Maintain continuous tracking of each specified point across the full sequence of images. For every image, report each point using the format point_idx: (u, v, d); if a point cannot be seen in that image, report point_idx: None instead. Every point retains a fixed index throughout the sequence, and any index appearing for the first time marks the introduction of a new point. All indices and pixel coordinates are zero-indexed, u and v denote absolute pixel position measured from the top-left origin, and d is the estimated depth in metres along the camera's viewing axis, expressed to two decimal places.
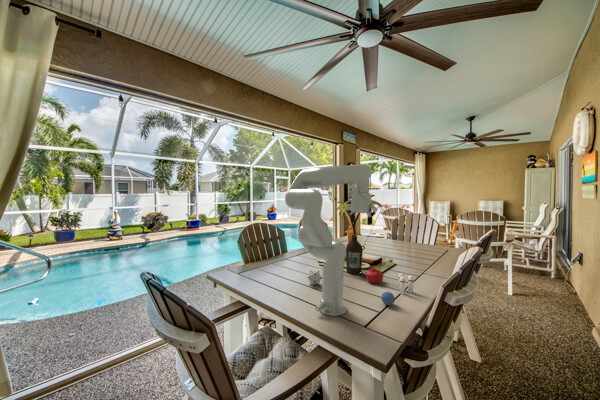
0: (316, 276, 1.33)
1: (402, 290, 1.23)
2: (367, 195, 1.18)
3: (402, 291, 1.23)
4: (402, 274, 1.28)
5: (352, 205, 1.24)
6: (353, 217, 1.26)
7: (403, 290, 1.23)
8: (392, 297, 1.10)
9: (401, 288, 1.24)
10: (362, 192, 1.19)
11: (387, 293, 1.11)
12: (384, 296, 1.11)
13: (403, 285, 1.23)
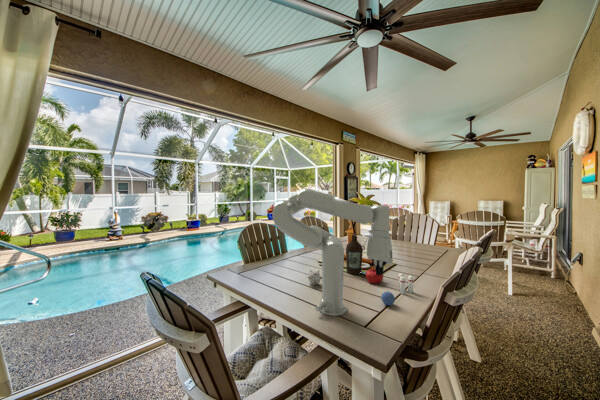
0: (316, 276, 1.33)
1: (402, 290, 1.23)
2: (387, 241, 1.00)
3: (402, 291, 1.23)
4: (402, 274, 1.28)
5: (369, 250, 1.05)
6: None
7: (403, 290, 1.23)
8: (392, 297, 1.10)
9: (401, 288, 1.24)
10: (381, 237, 1.00)
11: (387, 293, 1.11)
12: (384, 296, 1.11)
13: (403, 285, 1.23)
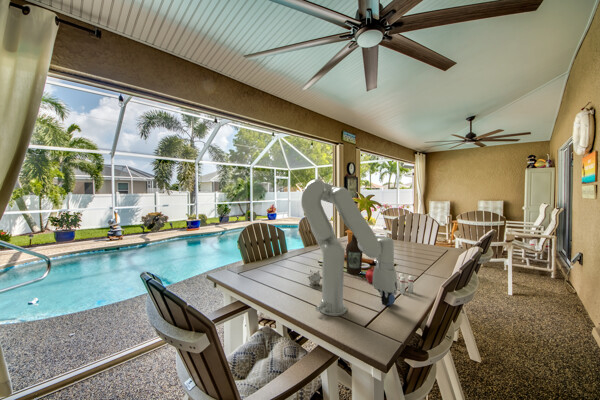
0: (316, 276, 1.33)
1: (402, 290, 1.23)
2: (392, 273, 1.04)
3: (402, 291, 1.23)
4: (402, 274, 1.28)
5: (374, 280, 1.09)
6: None
7: (403, 290, 1.23)
8: (392, 297, 1.10)
9: (401, 288, 1.24)
10: (386, 269, 1.04)
11: None
12: None
13: (403, 285, 1.23)
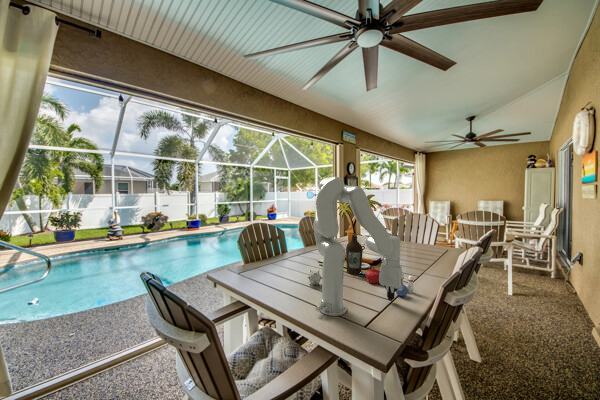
0: (316, 276, 1.33)
1: None
2: (399, 270, 1.09)
3: None
4: None
5: (381, 277, 1.15)
6: None
7: None
8: (404, 294, 1.19)
9: None
10: (393, 266, 1.10)
11: (399, 295, 1.20)
12: None
13: None
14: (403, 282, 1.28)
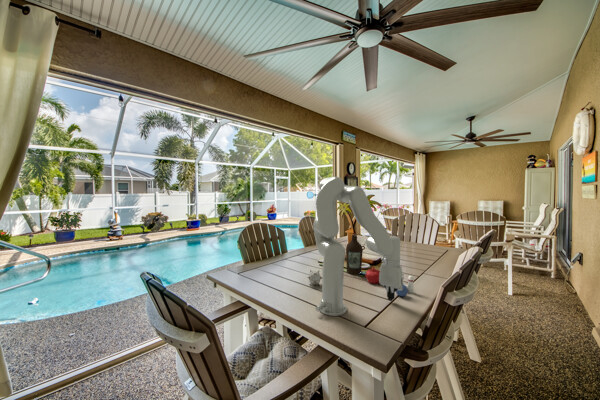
0: (316, 276, 1.33)
1: None
2: (399, 270, 1.09)
3: None
4: None
5: (381, 277, 1.15)
6: None
7: None
8: (404, 294, 1.19)
9: None
10: (393, 266, 1.10)
11: (399, 295, 1.20)
12: None
13: None
14: (403, 282, 1.29)
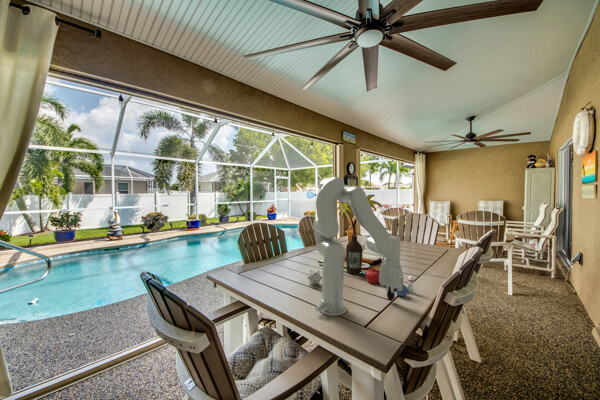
0: (316, 276, 1.33)
1: None
2: (399, 270, 1.09)
3: None
4: None
5: (381, 277, 1.15)
6: None
7: None
8: (404, 294, 1.19)
9: None
10: (393, 266, 1.10)
11: (399, 295, 1.20)
12: None
13: None
14: (403, 282, 1.29)
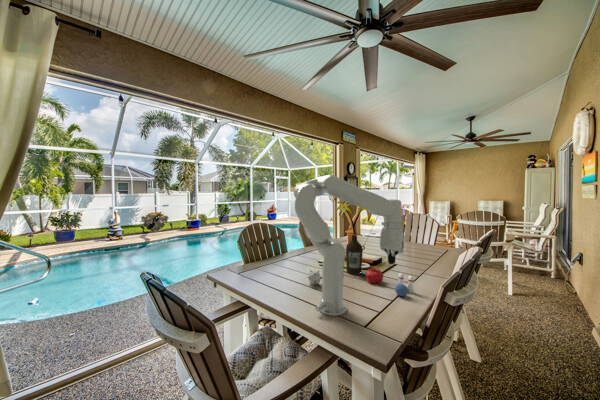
0: (316, 276, 1.33)
1: None
2: (399, 232, 1.09)
3: None
4: (402, 274, 1.28)
5: (382, 241, 1.14)
6: None
7: None
8: (404, 294, 1.19)
9: None
10: (394, 228, 1.09)
11: (399, 295, 1.20)
12: None
13: None
14: (403, 282, 1.29)
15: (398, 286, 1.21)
